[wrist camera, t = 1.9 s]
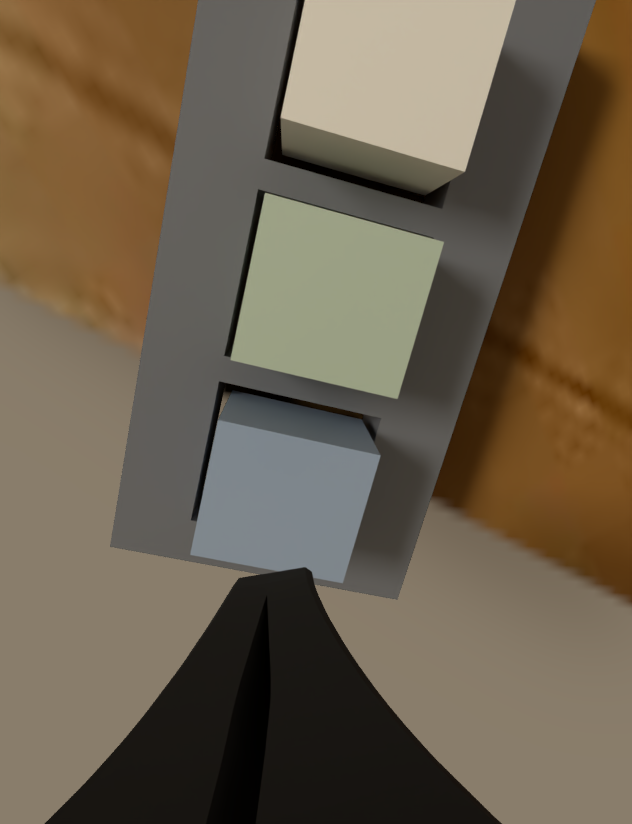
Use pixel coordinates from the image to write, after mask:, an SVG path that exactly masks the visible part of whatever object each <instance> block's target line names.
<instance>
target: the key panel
mask: <svg viewBox="0 0 632 824" xmlns="http://www.w3.org/2000/svg"><path fill="white" fill-rule="evenodd" d="M595 1H596V0H516V2H515V5H514V9H513V12H512V15H511V19H510V22H509V25H508V29H507V32H506V36H505V39H504V42H503V46H502V49H501V52H500V56H499V59H498V63H497V66H496V69H495V73H494V76H493V79H492V83H491V86H490V89H489V93H488V96H487V100H486V103H485V106H484V110H483V113H482V116H481V120H480V123H479V126H478V130H477V133H476V137H475V140H474V143H473V147H472V150H471V153H470V157H469V160H468V163H467V167H466V170H465V172H464V173H462V174H461V175H459V176H457V177H456V178H454V179H452V180H450V181H449V182H447V183H445V184H444V185H442V186H440V187H439V188H437V189H435V190H434V191H432V192H430V193H428V194H427V195H426V196H425V200H424V204H423V203H419V202H416V201H412V200H409V199H405V198H402V197H398V196H395V195H391V194H388V193H384V192H381V191H377V190H373V189H370V188H366V187H363V186H359V185H356V184H352V183H349V182H345V181H342V180H338V179H335V178H331V177H328V176H324V175H321V174H317V173H314V172H310V171H307V170H303V169H299V168H296V167H292V166H289V165H285V164H282V163H278V162H275V161H271V159H272V155H273V150H274V145H275V140H276V135H277V130H278V126H279V121H280V116H281V111H282V106H283V101H284V97H285V92H286V87H287V82H288V77H289V72H290V68H291V63H292V58H293V53H294V48H295V43H296V39H297V34H298V29H299V24H300V19H301V14H302V10H303V7H304V2H305V0H198V5H197V11H196V17H195V24H194V30H193V36H192V42H191V48H190V55H189V61H188V67H187V73H186V79H185V86H184V92H183V98H182V104H181V110H180V117H179V123H178V129H177V135H176V141H175V148H174V154H173V160H172V166H171V172H170V179H169V185H168V191H167V197H166V203H165V210H164V216H163V222H162V228H161V234H160V241H159V247H158V253H157V259H156V265H155V272H154V278H153V284H152V290H151V296H150V303H149V309H148V315H147V321H146V327H145V334H144V340H143V346H142V352H141V358H140V365H139V371H138V377H137V384H136V390H135V396H134V402H133V408H132V415H131V420H130V427H129V433H128V439H127V445H126V452H125V458H124V464H123V471H122V476H121V482H120V489H119V495H118V501H117V507H116V514H115V520H114V526H113V532H112V538H111V544H110V547H115V548H120V549H126V550H131V551H136V552H142V553H148V554H153V555H158V556H164V557H169V558H174V559H180V560H185V561H191V562H196V563H201V564H207V565H212V566H218V567H223V568H229V569H234V570H240V571H245V572H250V573H256V574H267V573H273V572H278V571H274V570H269V569H264V568H258V567H253V566H248V565H242V564H237V563H231V562H226V561H221V560H215V559H210V558H205V557H199V556H194V555H190V553H191V548H192V543H193V539H194V534H195V529H196V524H197V519H198V514H199V510H200V505H201V500H202V495H203V490H204V484H205V479H206V474H207V469H208V464H209V459H210V455H211V450H212V445H213V440H214V435H215V430H216V426H217V421H218V416H219V411H220V406H221V401H222V397H223V392H224V387H225V383H229V384H233V385H238V386H242V387H247V388H251V389H255V390H260V391H264V392H269V393H273V394H277V395H282V396H286V397H290V398H295V399H299V400H304V401H308V402H312V403H317V404H321V405H325V406H330V407H334V408H339V409H343V410H347V411H352V412H356V413H361V414H364V416H363V420H362V421H363V423H364V425H365V427H366V428H367V430H368V432H369V434H370V436H371V438H372V440H373V442H374V444H375V446H376V448H377V449H378V451H379V453H380V455H381V456H380V460H379V463H378V466H377V470H376V473H375V476H374V480H373V483H372V486H371V490H370V493H369V497H368V500H367V503H366V507H365V510H364V513H363V517H362V520H361V523H360V527H359V530H358V534H357V537H356V540H355V544H354V547H353V550H352V554H351V557H350V561H349V564H348V567H347V571H346V574H345V577H344V581H343V583H339V582H334V581H328V580H323V579H317V578H313V580H314V584H315V585H321V586H327V587H332V588H337V589H342V590H348V591H353V592H359V593H364V594H369V595H375V596H380V597H386V598H392V599H398V596H399V593H400V590H401V587H402V584H403V581H404V578H405V575H406V572H407V569H408V566H409V563H410V560H411V557H412V554H413V551H414V548H415V544H416V541H417V539H418V536H419V533H420V529H421V527H422V523H423V521H424V517H425V515H426V511H427V508H428V505H429V502H430V499H431V496H432V493H433V490H434V487H435V484H436V481H437V478H438V475H439V472H440V469H441V466H442V463H443V460H444V457H445V454H446V451H447V448H448V445H449V442H450V439H451V436H452V433H453V430H454V427H455V424H456V421H457V418H458V415H459V412H460V409H461V406H462V403H463V400H464V397H465V394H466V391H467V388H468V385H469V382H470V379H471V376H472V373H473V370H474V367H475V364H476V361H477V358H478V355H479V352H480V349H481V345H482V342H483V339H484V336H485V333H486V330H487V327H488V324H489V321H490V318H491V315H492V312H493V309H494V306H495V303H496V300H497V297H498V294H499V291H500V288H501V285H502V282H503V279H504V276H505V273H506V270H507V267H508V264H509V261H510V258H511V255H512V252H513V249H514V246H515V243H516V240H517V237H518V234H519V231H520V228H521V225H522V222H523V219H524V216H525V213H526V210H527V207H528V204H529V201H530V198H531V195H532V192H533V189H534V186H535V183H536V179H537V176H538V173H539V170H540V167H541V164H542V161H543V158H544V155H545V152H546V149H547V146H548V143H549V140H550V137H551V134H552V131H553V128H554V125H555V122H556V119H557V116H558V113H559V110H560V107H561V104H562V101H563V98H564V95H565V92H566V89H567V86H568V83H569V80H570V77H571V74H572V71H573V68H574V65H575V62H576V59H577V56H578V53H579V50H580V47H581V44H582V41H583V38H584V35H585V32H586V29H587V26H588V23H589V20H590V17H591V14H592V10H593V7H594V4H595ZM265 193H268V194H272V195H275V196H279V197H282V198H286V199H290V200H293V201H297V202H301V203H304V204H308V205H311V206H315V207H319V208H322V209H326V210H330V211H333V212H337V213H341V214H344V215H348V216H351V217H355V218H359V219H362V220H366V221H370V222H373V223H377V224H380V225H384V226H388V227H391V228H395V229H399V230H402V231H406V232H409V233H413V234H417V235H420V236H424V237H428V238H431V239H435V240H438V241H442V242H444V244H443V248H442V251H441V254H440V258H439V261H438V264H437V268H436V271H435V274H434V278H433V281H432V285H431V288H430V291H429V295H428V298H427V301H426V305H425V308H424V312H423V315H422V318H421V322H420V325H419V328H418V332H417V335H416V338H415V342H414V345H413V349H412V352H411V355H410V359H409V362H408V365H407V369H406V372H405V375H404V379H403V382H402V386H401V389H400V392H399V396H398V399H395V398H391V397H386V396H382V395H378V394H373V393H369V392H365V391H361V390H356V389H352V388H348V387H344V386H339V385H335V384H331V383H326V382H322V381H318V380H314V379H309V378H305V377H301V376H296V375H292V374H288V373H284V372H279V371H275V370H271V369H267V368H262V367H258V366H254V365H249V364H245V363H241V362H237V361H232V360H231V355H232V350H233V343H234V338H235V334H236V329H237V324H238V319H239V314H240V309H241V305H242V300H243V295H244V290H245V285H246V280H247V276H248V271H249V266H250V261H251V256H252V251H253V247H254V242H255V237H256V232H257V227H258V222H259V218H260V213H261V208H262V203H263V200H264V195H265Z"/></svg>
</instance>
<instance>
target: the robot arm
mask: <svg viewBox="0 0 632 824" xmlns="http://www.w3.org/2000/svg"><path fill="white" fill-rule="evenodd" d="M45 824H502V823H500V822H499V821H498V820H497V819H496V818H495V817H494V816H493V815H492V814H491V813H490V812H489V811H488V810H487V809H486V808H484V806H483V805H482V804H480V802H479V801H478V800H477V799H476V798H474V797H473V796H472V795H471V793H469V792H468V791H467V790H466V789H465V788H464V787H463V786H462V785H461V784H460V783H459V782H458V781H457V780H456V779H455V778H454V777H453V776H452V775H451V774H450V773H449V772H448V771H447V770H446V769H445V768H444V767H443V766H442V765H441V764H440V763H439V762H438V761H437V760H436V759H435V758H434V757H433V756H432V755H431V754H430V753H429V751H428V750H427V749H426V748H425V747H424V746H423V745H422V744H421V742H420V741H419V740H418V739H417V738H416V737H415V736H414V735H413V734H412V732H411V731H410V730H409V729H408V728H407V727H406V726H405V725H404V723H403V722H402V721H401V720H400V719H399V717H397V715H396V714H395V713H394V711H393V710H392V709H391V708H390V707H389V705H388V704H387V703H386V702H385V700H384V699H383V698H382V697H381V695H380V694H379V693H378V691H377V690H376V689H375V687H374V686H373V685H372V683H371V682H370V681H369V679H368V678H367V677H366V675H365V674H364V672H363V671H362V669H361V668H360V667H359V666H358V664H357V663H356V661H355V659H354V658H353V657H352V655H351V654H350V652H349V650H348V649H347V647H346V646H345V644H344V642H343V641H342V639H341V637H340V636H339V634H338V632H337V631H336V629H335V627H334V625H333V624H332V622H331V620H330V619H329V617H328V615H327V613H326V611H325V609H324V607H323V604H322V602H321V600H320V598H319V596H318V593H317V591H316V588H315V585H314V580H313V574H312V571H310V570H309V569H307V568H306V567H302V568H296V569H290V570H284V571H278V572H273V573H267V574H261V575H256V576H249V577H243V578H239V579H238V580H237V582H236V583H235V584H234V586H233V587H232V589H231V591H230V592H229V594H228V595H227V597H226V599H225V600H224V602H223V603H222V605H221V607H220V608H219V610H218V611H217V613H216V615H215V616H214V618H213V619H212V621H211V623H210V624H209V626H208V627H207V629H206V630H205V632H204V633H203V635H202V636H201V638H200V639H199V641H198V642H197V643H196V645H195V646H194V648H193V649H192V651H191V652H190V654H189V656H188V657H187V659H186V660H185V661H184V663H183V664H182V665H181V667H180V668H179V670H178V671H177V672H176V674H175V675H174V676H173V678H172V679H171V680H170V682H169V683H168V684H167V686H166V687H165V689H164V690H163V691H162V692H161V694H160V695H159V696H158V698H157V699H156V700H155V702H154V703H153V704H152V706H151V707H150V708H149V710H148V711H147V712H146V713H145V715H144V716H143V717H142V718H141V720H140V721H139V722H138V723H137V725H136V726H135V727H134V728H133V729H132V731H131V732H130V733H129V735H128V736H127V737H126V738H125V739H124V740H123V742H122V743H121V744H120V745H119V746H118V747H117V748H116V749H115V750H114V752H113V753H112V754H111V755H110V756H109V757H108V758H107V759H106V761H105V762H104V763H103V764H102V765H101V766H100V767H99V769H98V770H97V771H96V772H95V773H94V774H93V775H92V776H91V777H90V778H89V779H88V780H87V781H86V783H85V784H84V785H83V786H82V787H81V788H80V789H79V790H78V791H77V792H76V793H75V794H74V795H73V796H72V797H71V798H70V799H69V800H68V801H67V802H66V803H65V804H64V805H63V806H62V807H61V808H60V809H59V810H58V811H57V812H56V813H55V814H54V815H53V816H52V817H51V818H50V819H49V820H48V821H47V822H46V823H45Z"/></svg>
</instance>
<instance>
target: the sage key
mask: <svg viewBox="0 0 632 824" xmlns="http://www.w3.org/2000/svg"><path fill="white" fill-rule="evenodd" d="M443 244H444V242H442V241H438V240H435V239H431V238H428V237H424V236H420V235H417V234H413V233H409V232H406V231H402V230H399V229H395V228H391V227H388V226H384V225H380V224H377V223H373V222H370V221H366V220H362V219H359V218H355V217H351V216H348V215H344V214H341V213H337V212H333V211H330V210H326V209H322V208H319V207H315V206H311V205H308V204H304V203H301V202H297V201H293V200H290V199H286V198H282V197H279V196H275V195H272V194H268V193H265V195H264V200H263V205H262V210H261V215H260V220H259V224H258V229H257V234H256V239H255V244H254V249H253V253H252V258H251V263H250V268H249V273H248V278H247V282H246V287H245V292H244V297H243V302H242V307H241V311H240V316H239V321H238V326H237V331H236V336H235V340H234V345H233V350H232V355H231V360H232V361H237V362H241V363H245V364H249V365H254V366H258V367H262V368H267V369H271V370H275V371H279V372H284V373H288V374H292V375H296V376H301V377H305V378H309V379H314V380H318V381H322V382H326V383H331V384H335V385H339V386H344V387H348V388H352V389H356V390H361V391H365V392H369V393H373V394H378V395H382V396H386V397H391V398H395V399H398V396H399V392H400V389H401V386H402V382H403V379H404V375H405V372H406V369H407V365H408V362H409V359H410V355H411V352H412V349H413V345H414V342H415V338H416V335H417V332H418V328H419V325H420V322H421V318H422V315H423V312H424V308H425V305H426V301H427V298H428V295H429V291H430V288H431V285H432V281H433V278H434V274H435V271H436V268H437V264H438V261H439V258H440V254H441V251H442V248H443Z"/></svg>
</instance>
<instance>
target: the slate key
mask: <svg viewBox="0 0 632 824" xmlns="http://www.w3.org/2000/svg"><path fill="white" fill-rule="evenodd" d="M380 456H381V455H380V453H379V451H378V449H377V448H376V446H375V444H374V442H373V440H372V438H371V436H370V434H369V432H368V430H367V428H366V427H365V425H364V423H363V421H362V419H358V418H353V417H349V416H344V415H340V414H336V413H331V412H327V411H322V410H318V409H314V408H309V407H305V406H300V405H296V404H291V403H287V402H283V401H278V400H274V399H269V398H265V397H261V396H256V395H252V394H247V393H243V392H239V391H234V390H232V392H231V394H230V396H229V398H228V400H227V402H226V405H225V407H224V409H223V411H222V413H221V415H220V417H219V419H218V423H217V427H216V432H215V437H214V442H213V447H212V452H211V456H210V461H209V466H208V471H207V476H206V481H205V485H204V490H203V495H202V500H201V505H200V510H199V514H198V519H197V524H196V529H195V534H194V539H193V543H192V548H191V553H190V555H194V556H199V557H205V558H210V559H215V560H221V561H226V562H231V563H237V564H242V565H248V566H253V567H258V568H264V569H269V570H274V571H284V570H290V569H296V568H302V567H306V568H307V569H309V570H310V571H312V574H313V578H317V579H323V580H328V581H334V582H339V583H343V581H344V577H345V574H346V571H347V567H348V564H349V561H350V557H351V554H352V550H353V547H354V544H355V540H356V537H357V534H358V530H359V527H360V523H361V520H362V517H363V513H364V510H365V507H366V503H367V500H368V497H369V493H370V490H371V486H372V483H373V480H374V476H375V473H376V470H377V466H378V463H379V460H380Z"/></svg>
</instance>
